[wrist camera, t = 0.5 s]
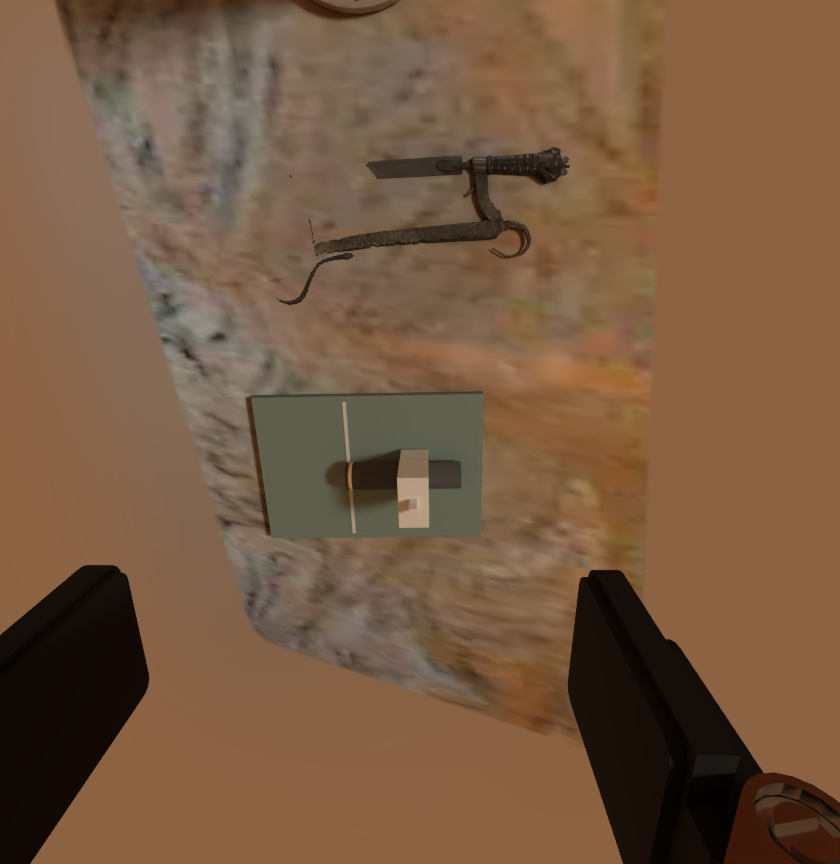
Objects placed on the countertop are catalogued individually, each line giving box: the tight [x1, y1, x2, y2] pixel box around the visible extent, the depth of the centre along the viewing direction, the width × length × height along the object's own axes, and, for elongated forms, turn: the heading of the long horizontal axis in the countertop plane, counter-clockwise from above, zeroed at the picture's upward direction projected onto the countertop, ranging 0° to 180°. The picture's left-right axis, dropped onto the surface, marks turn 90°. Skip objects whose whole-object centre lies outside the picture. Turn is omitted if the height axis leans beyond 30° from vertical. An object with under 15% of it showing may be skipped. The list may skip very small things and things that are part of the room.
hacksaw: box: [277, 147, 570, 305], centre depth 38 cm, size 24×10×2 cm, turn 93°
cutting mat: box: [251, 391, 484, 538], centre depth 45 cm, size 14×20×1 cm
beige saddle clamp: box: [397, 449, 429, 528], centre depth 40 cm, size 4×2×8 cm, turn 1°
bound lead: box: [345, 461, 461, 491], centre depth 43 cm, size 2×10×2 cm, turn 91°
